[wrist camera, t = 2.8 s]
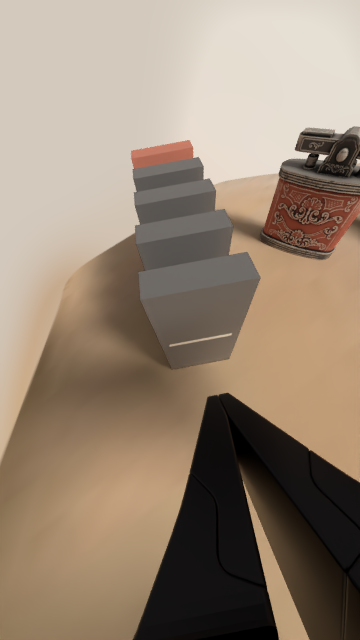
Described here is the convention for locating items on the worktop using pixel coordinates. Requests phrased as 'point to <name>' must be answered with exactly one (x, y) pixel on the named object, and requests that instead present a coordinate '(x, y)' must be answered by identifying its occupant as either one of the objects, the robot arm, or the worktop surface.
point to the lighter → (316, 195)
